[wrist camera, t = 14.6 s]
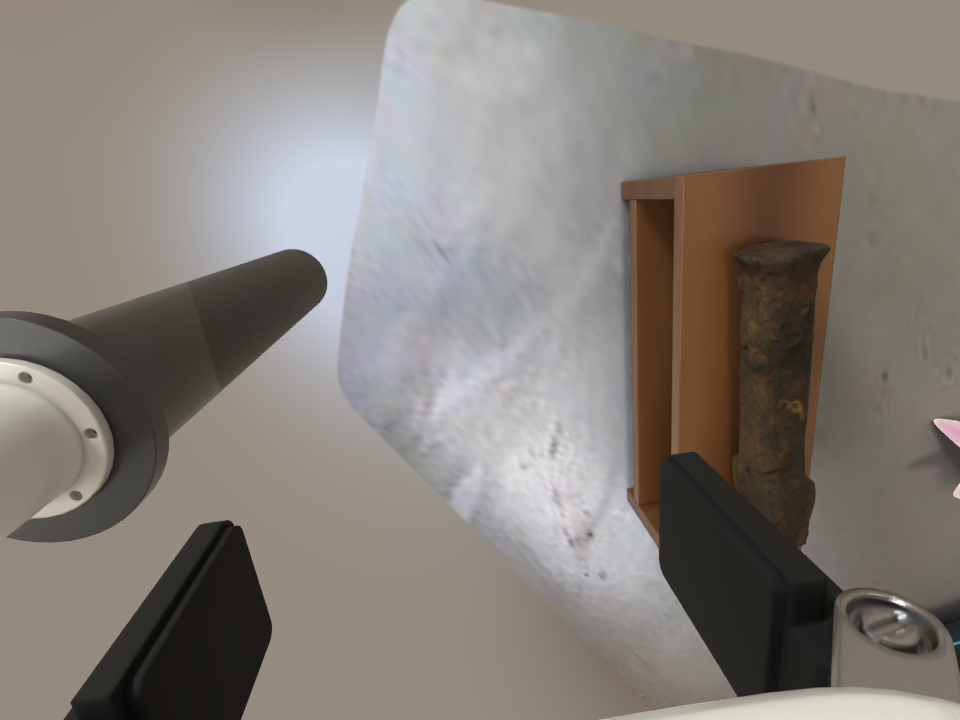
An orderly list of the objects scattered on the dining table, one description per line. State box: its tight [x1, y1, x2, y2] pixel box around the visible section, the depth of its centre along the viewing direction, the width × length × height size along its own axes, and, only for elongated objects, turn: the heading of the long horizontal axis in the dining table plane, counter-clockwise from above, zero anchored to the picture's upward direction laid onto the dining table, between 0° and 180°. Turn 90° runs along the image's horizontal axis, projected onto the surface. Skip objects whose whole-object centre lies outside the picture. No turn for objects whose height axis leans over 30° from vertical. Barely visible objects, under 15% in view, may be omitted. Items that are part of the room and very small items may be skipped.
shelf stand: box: [621, 157, 846, 551], centre depth 34 cm, size 9×26×9 cm, turn 6°
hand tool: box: [731, 240, 831, 548], centre depth 28 cm, size 19×4×5 cm, turn 6°
